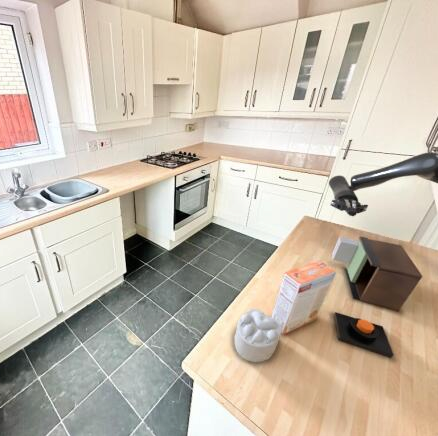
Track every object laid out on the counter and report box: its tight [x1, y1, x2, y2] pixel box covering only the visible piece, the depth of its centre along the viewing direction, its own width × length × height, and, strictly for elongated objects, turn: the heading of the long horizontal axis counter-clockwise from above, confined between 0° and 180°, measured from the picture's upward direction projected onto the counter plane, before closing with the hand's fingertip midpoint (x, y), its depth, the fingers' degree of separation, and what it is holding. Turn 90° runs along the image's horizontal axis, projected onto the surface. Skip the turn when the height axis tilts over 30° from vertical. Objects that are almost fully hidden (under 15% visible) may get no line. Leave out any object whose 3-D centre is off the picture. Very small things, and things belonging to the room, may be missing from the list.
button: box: [356, 318, 374, 334], centre depth 71 cm, size 4×4×2 cm
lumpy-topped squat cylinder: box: [234, 308, 283, 363], centre depth 69 cm, size 10×13×9 cm
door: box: [331, 236, 368, 283], centre depth 93 cm, size 7×12×14 cm, turn 153°
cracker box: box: [270, 260, 337, 335], centre depth 73 cm, size 14×6×21 cm, turn 111°
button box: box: [333, 311, 394, 359], centre depth 72 cm, size 12×10×4 cm
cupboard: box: [343, 236, 423, 312], centre depth 86 cm, size 12×18×16 cm
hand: (352, 213), depth 96 cm, fingers closed
